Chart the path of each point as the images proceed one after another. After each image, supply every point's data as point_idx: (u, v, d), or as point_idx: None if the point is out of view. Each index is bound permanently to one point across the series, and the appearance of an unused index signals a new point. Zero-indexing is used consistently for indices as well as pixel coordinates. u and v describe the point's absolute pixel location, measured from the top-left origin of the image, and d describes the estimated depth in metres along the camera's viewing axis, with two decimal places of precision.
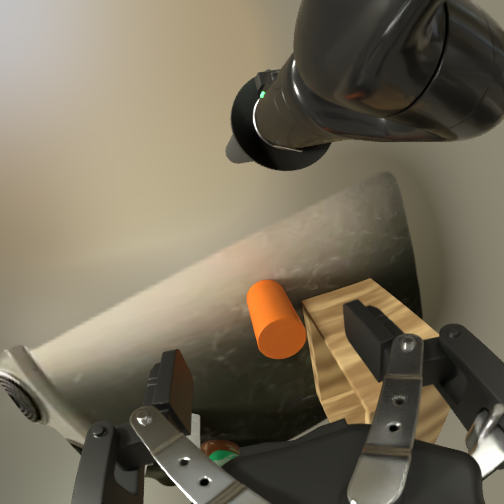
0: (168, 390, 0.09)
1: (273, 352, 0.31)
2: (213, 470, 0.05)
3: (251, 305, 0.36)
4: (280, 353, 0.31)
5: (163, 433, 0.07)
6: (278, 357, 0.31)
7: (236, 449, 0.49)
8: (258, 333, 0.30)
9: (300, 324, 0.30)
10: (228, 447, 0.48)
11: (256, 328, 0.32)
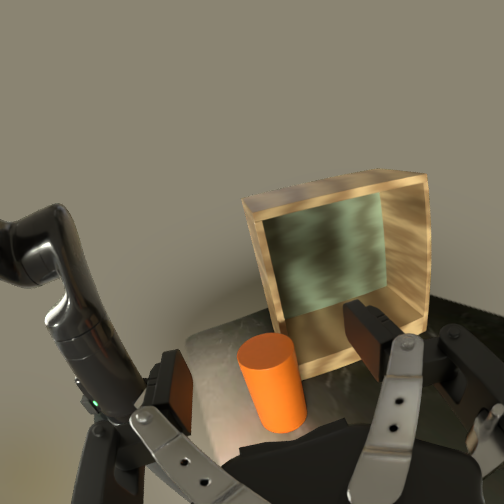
0: (168, 390, 0.09)
1: (282, 354, 0.25)
2: (213, 470, 0.05)
3: (267, 413, 0.26)
4: (284, 348, 0.26)
5: (163, 433, 0.07)
6: (291, 348, 0.25)
7: None
8: (254, 372, 0.24)
9: (249, 340, 0.28)
10: None
11: (259, 382, 0.24)
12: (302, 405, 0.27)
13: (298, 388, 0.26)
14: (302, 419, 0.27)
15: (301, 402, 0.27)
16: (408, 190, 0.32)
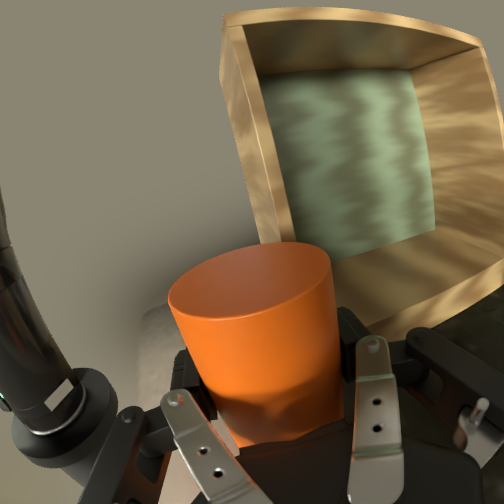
0: (197, 373, 0.10)
1: (297, 275, 0.08)
2: (230, 463, 0.05)
3: None
4: (302, 263, 0.09)
5: (197, 414, 0.08)
6: (322, 261, 0.09)
7: None
8: (207, 330, 0.07)
9: (209, 260, 0.12)
10: None
11: (224, 365, 0.08)
12: None
13: (339, 387, 0.10)
14: None
15: None
16: (459, 66, 0.16)
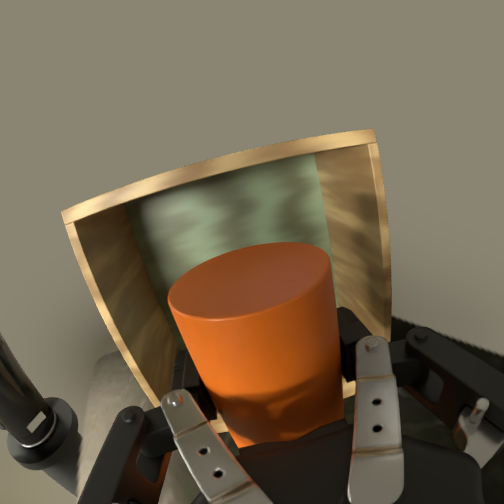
0: (197, 373, 0.10)
1: (296, 275, 0.08)
2: (230, 463, 0.05)
3: None
4: (302, 263, 0.09)
5: (197, 414, 0.08)
6: (322, 261, 0.09)
7: None
8: (206, 330, 0.07)
9: (209, 260, 0.12)
10: None
11: (224, 365, 0.08)
12: None
13: (339, 388, 0.10)
14: None
15: None
16: (349, 162, 0.20)
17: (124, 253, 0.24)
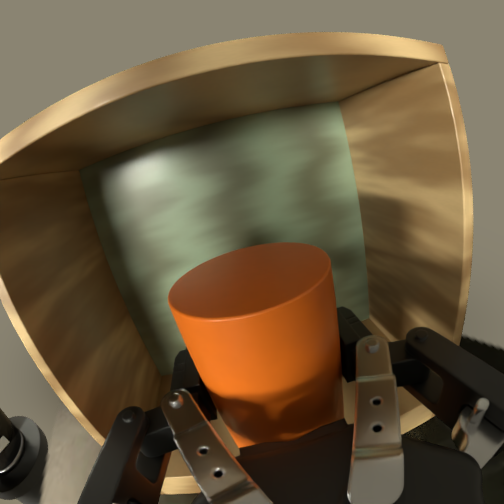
0: (197, 373, 0.10)
1: (296, 275, 0.08)
2: (230, 463, 0.05)
3: None
4: (302, 263, 0.09)
5: (197, 414, 0.08)
6: (322, 262, 0.09)
7: None
8: (206, 331, 0.07)
9: (209, 260, 0.12)
10: None
11: (224, 366, 0.08)
12: None
13: (339, 388, 0.10)
14: None
15: None
16: (403, 99, 0.11)
17: (69, 241, 0.15)
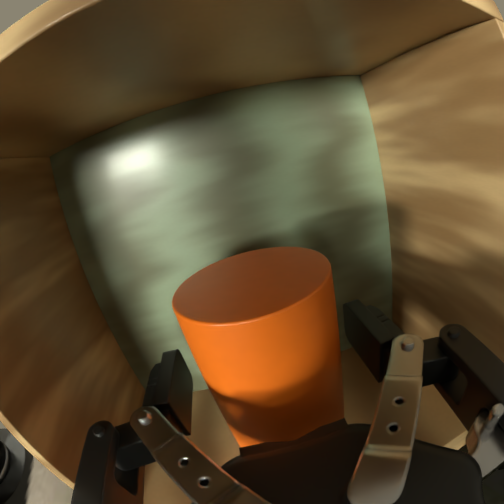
0: (168, 390, 0.09)
1: (298, 281, 0.09)
2: (213, 470, 0.05)
3: None
4: (303, 268, 0.09)
5: (163, 433, 0.07)
6: (322, 267, 0.09)
7: None
8: (210, 335, 0.08)
9: (212, 264, 0.12)
10: None
11: (227, 368, 0.08)
12: None
13: (339, 389, 0.10)
14: None
15: None
16: (450, 64, 0.07)
17: (29, 242, 0.11)
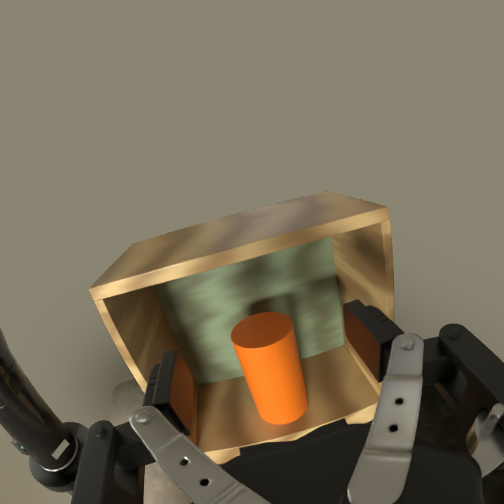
0: (168, 390, 0.09)
1: (279, 332, 0.23)
2: (213, 470, 0.05)
3: (264, 401, 0.24)
4: (281, 326, 0.24)
5: (163, 433, 0.07)
6: (289, 326, 0.24)
7: None
8: (248, 352, 0.22)
9: (244, 319, 0.27)
10: None
11: (254, 363, 0.23)
12: (302, 393, 0.25)
13: (298, 373, 0.24)
14: (303, 409, 0.26)
15: (301, 389, 0.25)
16: (361, 229, 0.22)
17: (146, 309, 0.25)
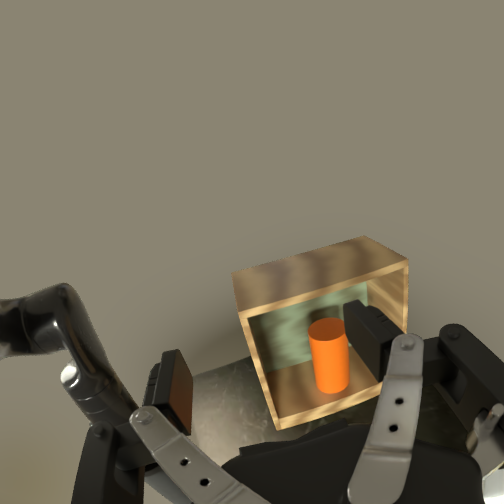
0: (168, 390, 0.09)
1: (340, 330, 0.36)
2: (213, 470, 0.05)
3: (326, 376, 0.38)
4: (340, 326, 0.37)
5: (163, 433, 0.07)
6: None
7: None
8: (323, 343, 0.35)
9: (313, 323, 0.40)
10: None
11: (325, 350, 0.36)
12: (348, 370, 0.39)
13: (348, 356, 0.38)
14: (348, 381, 0.39)
15: (348, 367, 0.38)
16: None
17: None
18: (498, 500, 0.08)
